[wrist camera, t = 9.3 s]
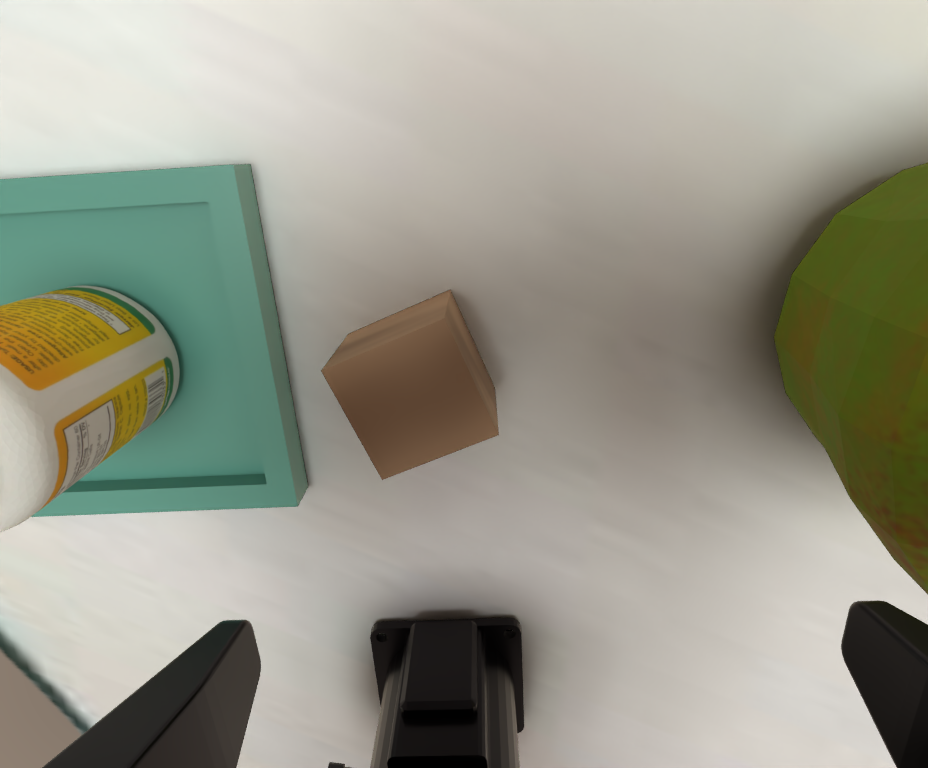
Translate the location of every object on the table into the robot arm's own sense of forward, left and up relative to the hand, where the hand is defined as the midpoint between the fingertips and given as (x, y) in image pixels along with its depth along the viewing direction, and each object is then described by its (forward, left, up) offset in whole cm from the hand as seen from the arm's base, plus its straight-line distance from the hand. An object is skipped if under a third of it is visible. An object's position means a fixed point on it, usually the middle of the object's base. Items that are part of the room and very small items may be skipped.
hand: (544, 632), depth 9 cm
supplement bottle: (+1, +14, -13) cm, 19 cm away
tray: (+1, +14, -13) cm, 19 cm away
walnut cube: (0, +3, -13) cm, 13 cm away
